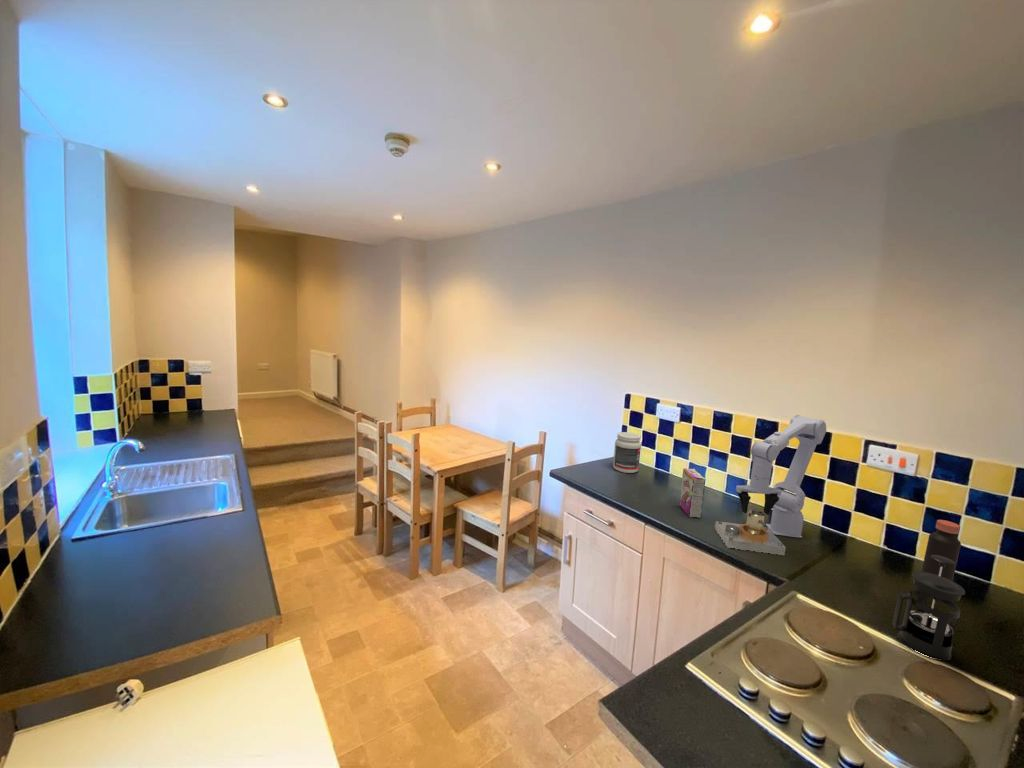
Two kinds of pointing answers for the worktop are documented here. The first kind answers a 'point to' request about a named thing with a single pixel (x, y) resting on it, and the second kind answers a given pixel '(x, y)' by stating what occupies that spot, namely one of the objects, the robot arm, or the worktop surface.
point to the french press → (925, 622)
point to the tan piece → (755, 522)
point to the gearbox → (749, 538)
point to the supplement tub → (627, 452)
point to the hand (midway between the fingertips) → (755, 512)
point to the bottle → (942, 548)
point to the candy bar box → (692, 492)
